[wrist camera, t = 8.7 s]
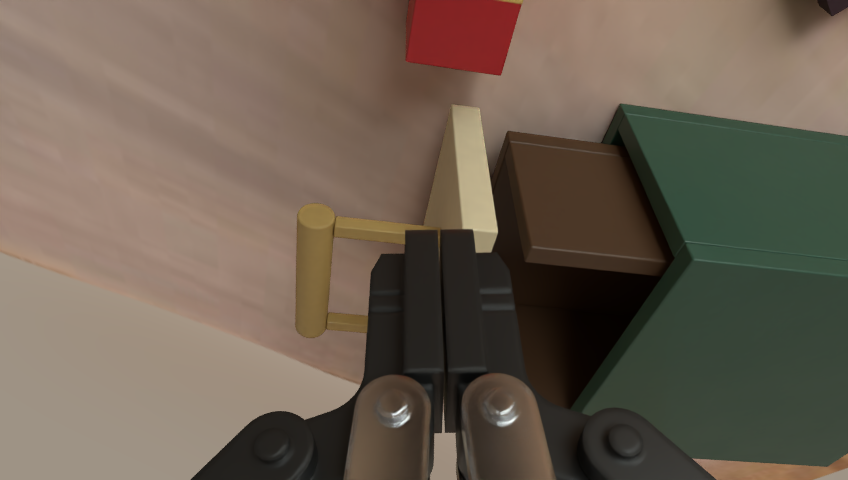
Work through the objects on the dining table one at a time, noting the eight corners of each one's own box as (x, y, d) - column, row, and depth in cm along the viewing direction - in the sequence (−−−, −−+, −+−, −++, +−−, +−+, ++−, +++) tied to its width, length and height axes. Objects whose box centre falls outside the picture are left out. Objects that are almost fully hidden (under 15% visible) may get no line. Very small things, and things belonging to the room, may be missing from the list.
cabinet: (527, 301, 34) (554, 450, 28) (620, 102, 25) (693, 260, 18) (753, 323, 36) (827, 467, 30) (920, 146, 26) (1083, 302, 20)
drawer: (306, 285, 31) (286, 409, 26) (314, 84, 23) (285, 209, 18) (635, 316, 34) (674, 435, 29) (754, 145, 25) (842, 270, 20)
